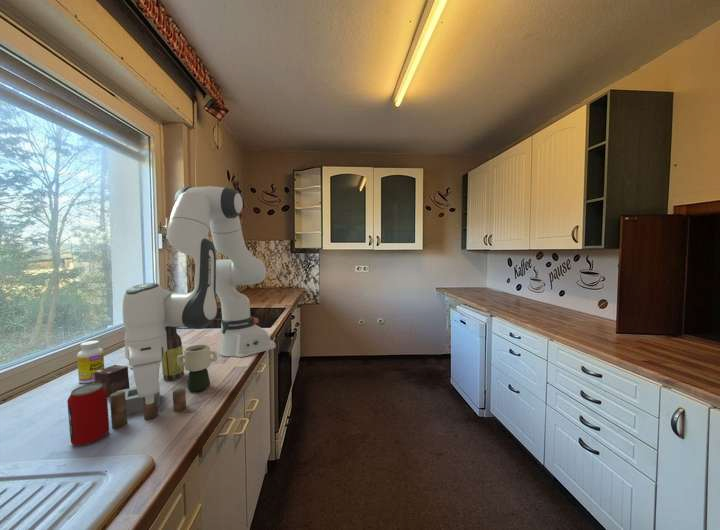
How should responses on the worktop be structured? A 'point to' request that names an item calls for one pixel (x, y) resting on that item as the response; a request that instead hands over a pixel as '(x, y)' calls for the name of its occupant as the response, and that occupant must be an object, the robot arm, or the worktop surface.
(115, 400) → the medium pin
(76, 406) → the beverage can
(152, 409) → the long pin
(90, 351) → the supplement bottle
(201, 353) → the character mug
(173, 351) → the sauce bottle
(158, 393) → the socket block
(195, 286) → the robot arm
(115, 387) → the box
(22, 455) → the worktop surface
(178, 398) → the short pin
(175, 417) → the worktop surface
